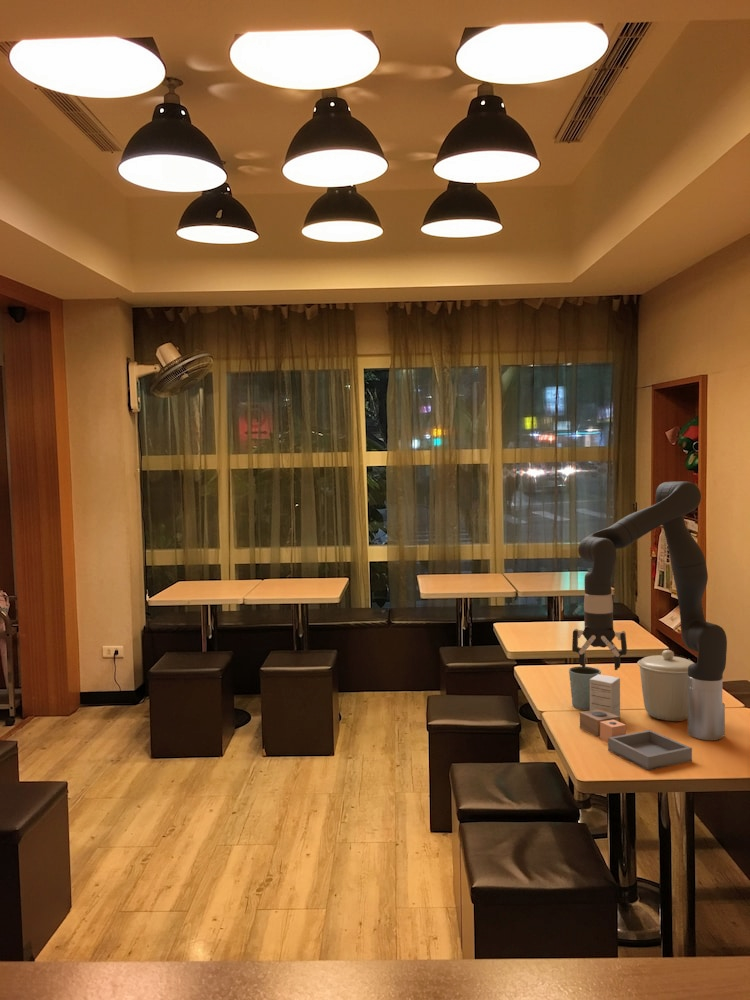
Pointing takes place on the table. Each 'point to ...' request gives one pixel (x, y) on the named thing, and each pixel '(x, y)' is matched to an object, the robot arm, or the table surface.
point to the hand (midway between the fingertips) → (599, 668)
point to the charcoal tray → (649, 749)
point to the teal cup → (581, 685)
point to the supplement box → (605, 693)
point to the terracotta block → (611, 729)
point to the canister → (665, 686)
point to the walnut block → (595, 720)
